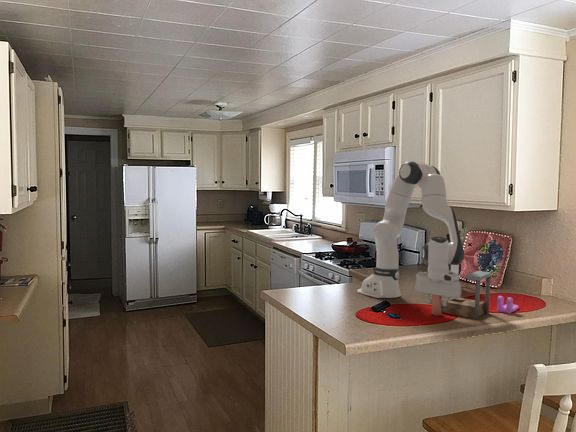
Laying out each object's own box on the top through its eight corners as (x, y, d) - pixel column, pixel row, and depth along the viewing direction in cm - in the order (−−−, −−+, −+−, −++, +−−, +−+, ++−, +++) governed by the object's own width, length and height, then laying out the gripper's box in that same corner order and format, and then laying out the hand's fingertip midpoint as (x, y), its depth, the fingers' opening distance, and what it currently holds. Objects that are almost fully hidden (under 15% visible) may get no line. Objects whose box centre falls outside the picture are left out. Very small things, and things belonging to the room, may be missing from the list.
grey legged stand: (464, 317, 219) (465, 275, 218) (476, 310, 230) (478, 270, 228) (478, 319, 215) (479, 277, 214) (489, 313, 226) (491, 272, 224)
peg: (430, 314, 223) (430, 294, 223) (434, 312, 226) (434, 292, 226) (438, 315, 221) (439, 295, 220) (442, 314, 224) (443, 294, 223)
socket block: (439, 311, 228) (439, 300, 227) (450, 306, 237) (450, 296, 236) (474, 318, 217) (474, 307, 217) (484, 313, 226) (484, 302, 226)
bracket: (509, 313, 226) (510, 298, 226) (496, 311, 230) (497, 296, 230) (519, 308, 236) (520, 293, 235) (507, 306, 239) (508, 291, 239)
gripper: (413, 271, 226) (412, 302, 228) (457, 278, 213) (456, 310, 214) (419, 270, 231) (418, 299, 232) (463, 276, 218) (462, 307, 219)
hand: (436, 304), depth 223 cm, fingers open, 5 cm apart
